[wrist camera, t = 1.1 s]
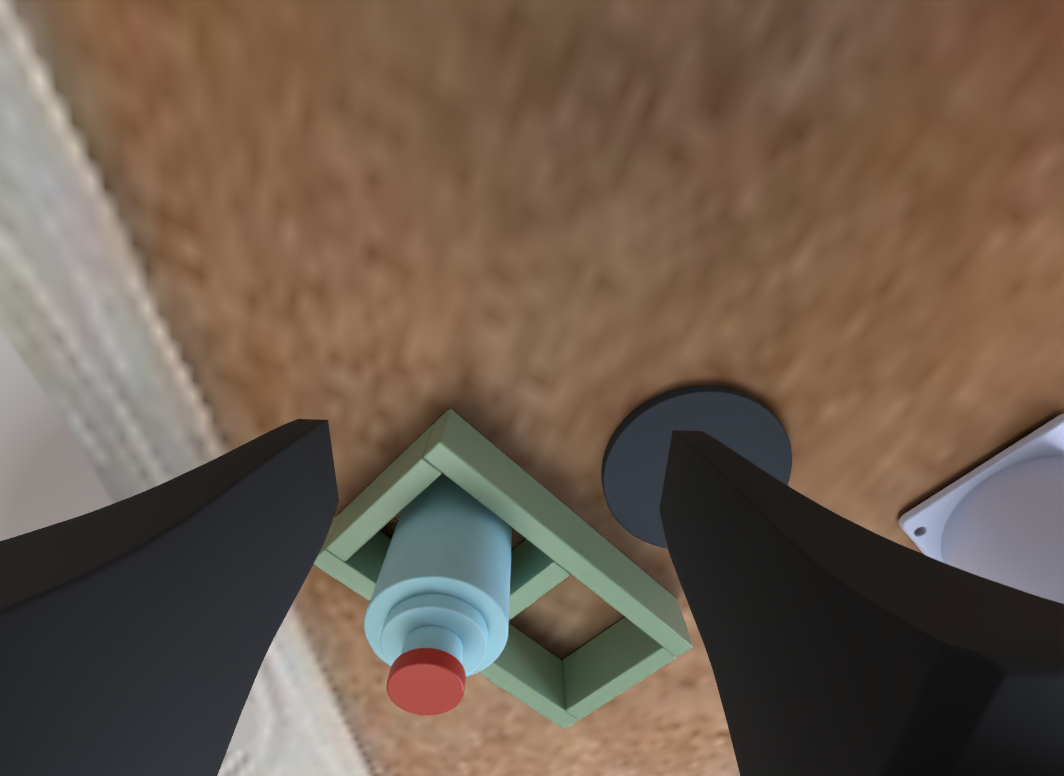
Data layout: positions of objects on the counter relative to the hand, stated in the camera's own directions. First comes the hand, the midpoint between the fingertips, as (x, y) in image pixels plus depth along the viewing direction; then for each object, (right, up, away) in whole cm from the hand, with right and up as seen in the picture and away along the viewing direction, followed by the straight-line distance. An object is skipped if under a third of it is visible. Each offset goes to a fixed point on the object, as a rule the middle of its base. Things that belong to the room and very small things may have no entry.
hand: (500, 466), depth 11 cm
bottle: (-3, -4, +13) cm, 14 cm away
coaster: (+8, -2, +12) cm, 14 cm away
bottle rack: (0, -7, +14) cm, 15 cm away
